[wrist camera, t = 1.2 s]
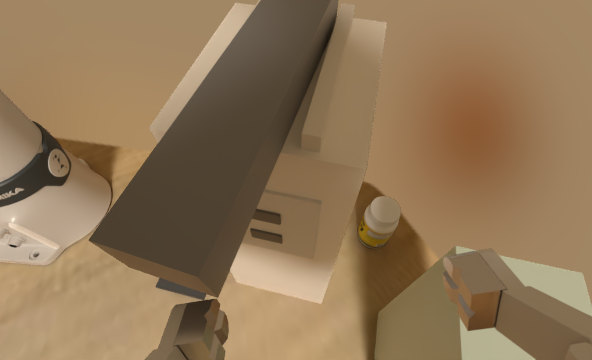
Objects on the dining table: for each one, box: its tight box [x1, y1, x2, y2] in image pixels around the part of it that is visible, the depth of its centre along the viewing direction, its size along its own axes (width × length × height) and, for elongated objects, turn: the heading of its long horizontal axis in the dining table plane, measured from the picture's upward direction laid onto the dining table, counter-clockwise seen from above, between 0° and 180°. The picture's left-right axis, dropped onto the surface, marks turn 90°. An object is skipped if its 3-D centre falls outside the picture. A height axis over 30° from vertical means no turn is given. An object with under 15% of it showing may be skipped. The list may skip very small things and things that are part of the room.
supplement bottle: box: [358, 196, 401, 249], centre depth 43 cm, size 5×5×8 cm
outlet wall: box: [149, 0, 387, 304], centre depth 32 cm, size 14×12×32 cm
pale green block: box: [374, 246, 592, 360], centre depth 28 cm, size 10×8×24 cm
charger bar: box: [89, 0, 338, 298], centre depth 16 cm, size 20×4×3 cm, turn 163°
